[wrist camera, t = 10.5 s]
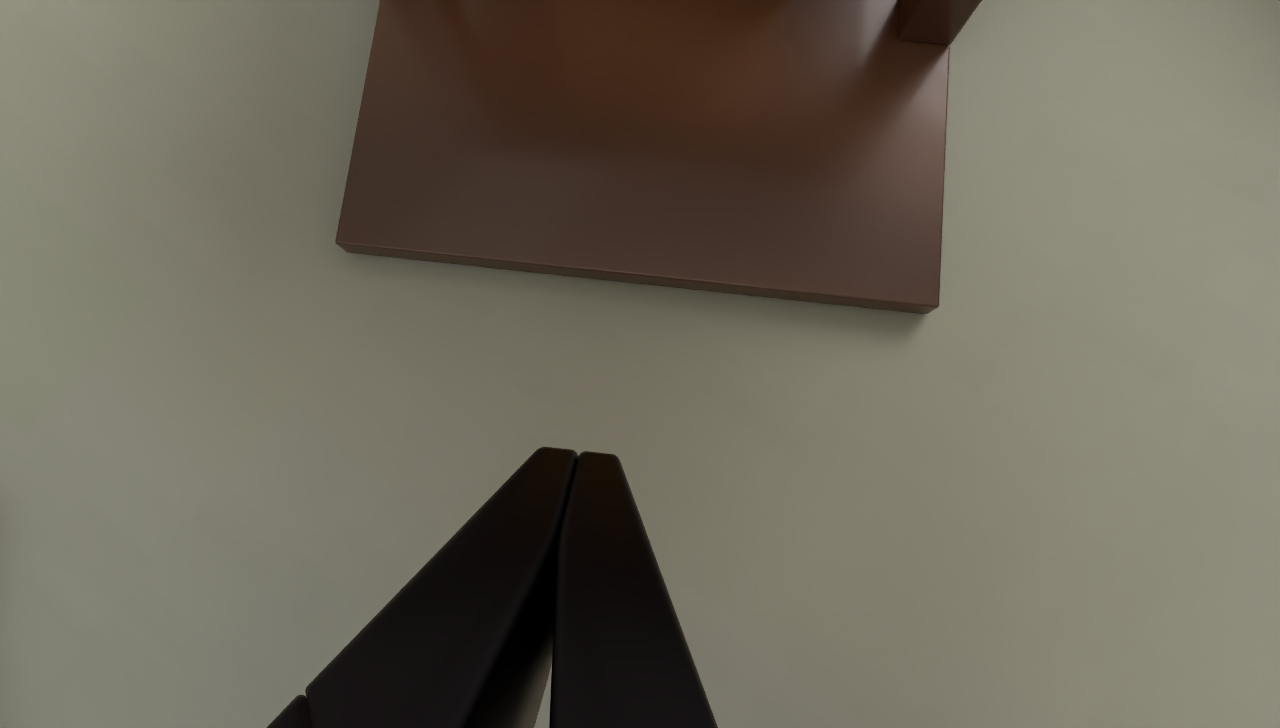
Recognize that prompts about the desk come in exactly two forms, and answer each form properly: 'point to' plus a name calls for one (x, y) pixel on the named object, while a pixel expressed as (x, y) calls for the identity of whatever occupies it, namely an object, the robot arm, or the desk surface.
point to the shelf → (662, 143)
